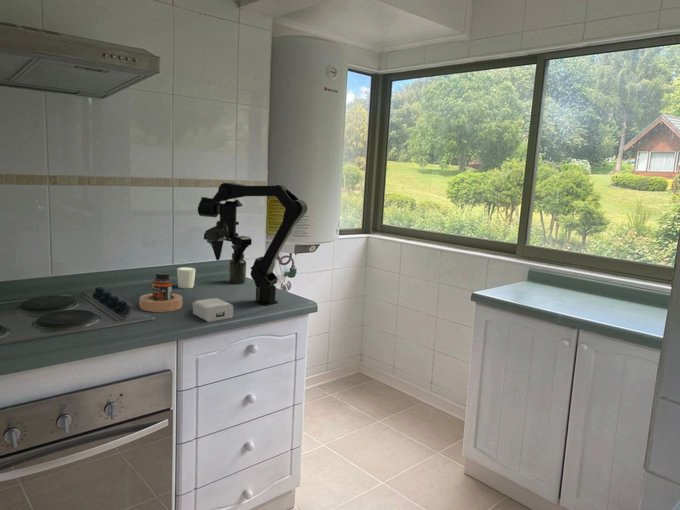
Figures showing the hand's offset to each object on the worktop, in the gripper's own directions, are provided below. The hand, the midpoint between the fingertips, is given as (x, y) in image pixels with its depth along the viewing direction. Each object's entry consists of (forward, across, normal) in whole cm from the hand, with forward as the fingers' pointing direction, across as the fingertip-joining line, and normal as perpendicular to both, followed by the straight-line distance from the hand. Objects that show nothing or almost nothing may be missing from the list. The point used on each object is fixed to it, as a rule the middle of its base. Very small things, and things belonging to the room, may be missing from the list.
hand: (226, 262), depth 184 cm
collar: (+13, -5, -24) cm, 27 cm away
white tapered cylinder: (+13, -22, 0) cm, 26 cm away
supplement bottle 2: (+13, -15, +20) cm, 28 cm away
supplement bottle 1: (+13, -5, -23) cm, 27 cm away
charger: (+13, +12, -18) cm, 25 cm away
